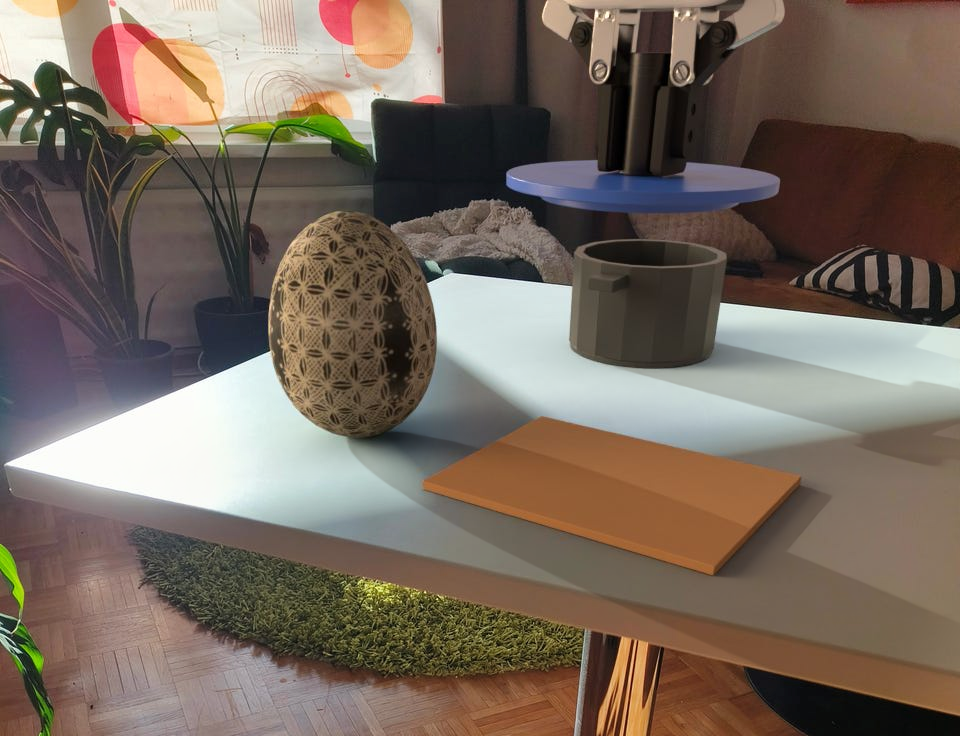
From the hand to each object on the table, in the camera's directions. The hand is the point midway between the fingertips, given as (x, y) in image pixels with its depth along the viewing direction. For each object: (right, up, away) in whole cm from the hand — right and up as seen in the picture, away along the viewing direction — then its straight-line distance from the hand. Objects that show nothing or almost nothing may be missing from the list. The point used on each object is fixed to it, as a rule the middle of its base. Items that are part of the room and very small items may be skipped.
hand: (641, 168), depth 48 cm
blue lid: (0, -1, 0) cm, 1 cm away
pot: (+7, +3, +38) cm, 38 cm away
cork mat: (0, -15, +10) cm, 19 cm away
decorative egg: (-18, -10, +18) cm, 27 cm away
